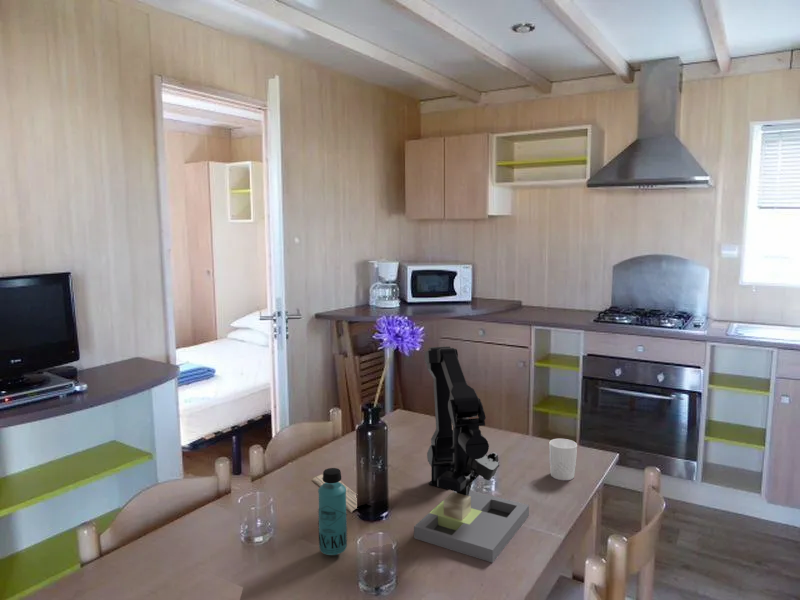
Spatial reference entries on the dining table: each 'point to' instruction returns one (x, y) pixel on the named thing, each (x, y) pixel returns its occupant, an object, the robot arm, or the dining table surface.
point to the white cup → (562, 458)
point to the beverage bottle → (332, 513)
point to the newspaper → (350, 495)
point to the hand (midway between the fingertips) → (464, 502)
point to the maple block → (457, 506)
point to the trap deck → (474, 526)
